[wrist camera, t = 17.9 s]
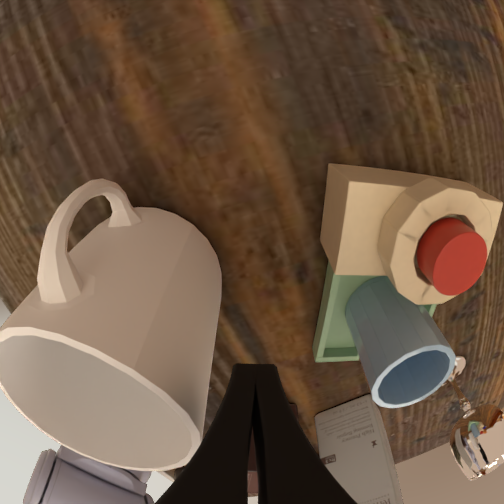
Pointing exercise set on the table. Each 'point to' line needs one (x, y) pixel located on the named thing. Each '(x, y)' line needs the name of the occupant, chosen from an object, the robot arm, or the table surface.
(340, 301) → the tray
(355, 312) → the cup
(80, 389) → the mug
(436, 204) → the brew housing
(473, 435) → the wineglass
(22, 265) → the table surface
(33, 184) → the table surface
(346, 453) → the cosmetic box
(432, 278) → the button
